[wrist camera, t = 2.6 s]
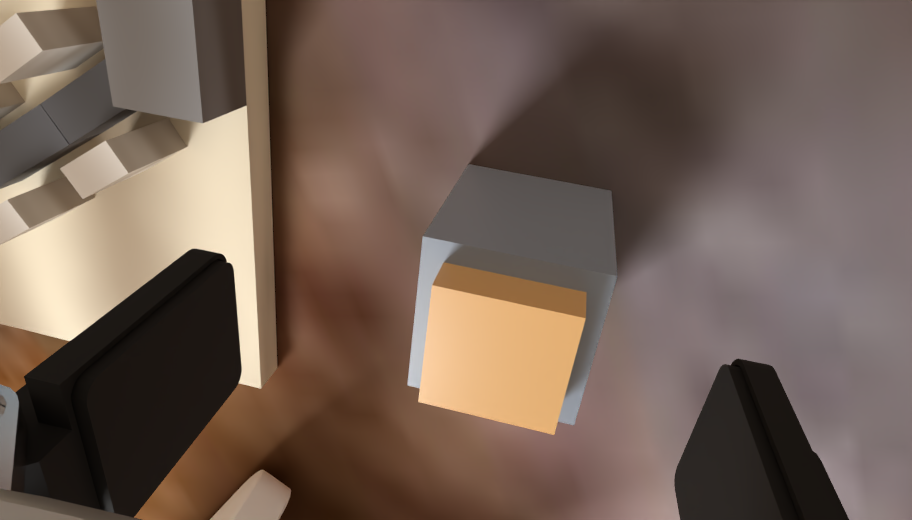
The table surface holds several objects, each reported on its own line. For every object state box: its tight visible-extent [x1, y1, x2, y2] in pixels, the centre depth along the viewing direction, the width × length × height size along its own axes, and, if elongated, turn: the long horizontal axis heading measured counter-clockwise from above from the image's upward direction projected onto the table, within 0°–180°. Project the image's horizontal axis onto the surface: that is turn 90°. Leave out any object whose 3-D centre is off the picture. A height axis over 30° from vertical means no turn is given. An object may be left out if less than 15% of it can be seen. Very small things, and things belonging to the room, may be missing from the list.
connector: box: [408, 164, 617, 435], centre depth 14 cm, size 4×4×6 cm
